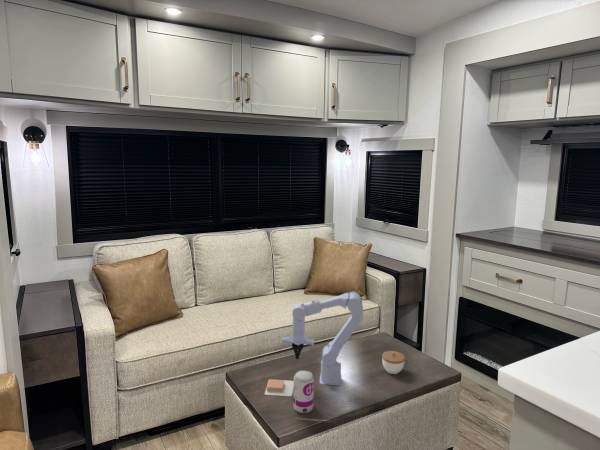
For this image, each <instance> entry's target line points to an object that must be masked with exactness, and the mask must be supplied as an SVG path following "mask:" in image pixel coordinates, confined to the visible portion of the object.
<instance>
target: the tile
mask: <svg viewBox="0 0 600 450" xmlns="http://www.w3.org/2000/svg"><path fill="white" fill-rule="evenodd" d="M282 380H283V379H282ZM282 380H281V379H270V380H269V379H268V381H269V382H268V381H267V384H268V385H266V387H267V391H283V388H284V381H282Z"/></svg>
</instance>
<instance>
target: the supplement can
mask: <svg viewBox="0 0 600 450" xmlns="http://www.w3.org/2000/svg"><path fill="white" fill-rule="evenodd" d="M314 378H315V377H314V375H313V373H312V372H311V371H310V370H304V369H302V370H298V371H296V372H295V373H294V376H293V381H294V387H293V394H292V398H293V402H292V404H293V410H294V411H296V412H298V413H301V414H306V413H309V412H311V411H312V410H313V409H314V398H315V397H314V394H315V393H314V389H315V387H314V385H315V383H314V382H315V379H314Z"/></svg>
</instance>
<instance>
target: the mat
mask: <svg viewBox="0 0 600 450" xmlns="http://www.w3.org/2000/svg"><path fill="white" fill-rule="evenodd" d="M269 380H271V379H268V381H267V385H268V382H269ZM282 381H284V388H283V391H267V385H266V388H265V391H264V395H267V396H281V397H282V396H283V397H293V394H294V380H285V379H282Z"/></svg>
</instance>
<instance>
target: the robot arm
mask: <svg viewBox="0 0 600 450" xmlns="http://www.w3.org/2000/svg"><path fill="white" fill-rule="evenodd" d="M338 306H339V307H342V308H344V309H347V308H348V311H349V312H350V316H349V318H348V319H347V320H346V322H345V323H344V325H343V326H342V327H341V329H340V330H339V331H338V333H337V334H336V335H335V337H334V338H333V339H332V340H331V341H330V342H329V343H328V344H326V345H324V347H323V348H322V358H321V361H320V375H319V384H321V385H330V386H341V381H342V363H341V362H339V361H337V359H338V357H339V354H340V352H341V350H342V348H343V347H344V345H345V344H346V343H347V341H348V340H349V338H350V337H351V336H352V335H353V333H354V332H355V330H357V327H358V326H359V325H360V324H361V322H362V321H363V319H364V306H363V301H362V298H361V295H360V293H359V292H357V291H350V292H344V293H343V294H342V293H341V294H340V295H337V296H334V297H331V298H328V299H325V300H322V301H320V300H318V299H317V300H316V299H312V300H311V301H309V302H306V303H304V302H301V303H297V304H295V305H294V306H293V309H292V313H291V314H292V326H291V328H292V329H291V330H292V331H291V332H292V333H291V336H288V337H282V338H281V340H282V341H281V344H291V348H292V350H293V352H294V356H295V360H299V359H300V354H301V352H302V350H303V349H304V346H305V345H311V346H314V345H315V339H311V338H307V337H305V335H306V334H305V331H306V320H305V317H308V316H314V315H316V314H319V313H322V311H323V310H325V309H329V308H334V307H338Z"/></svg>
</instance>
